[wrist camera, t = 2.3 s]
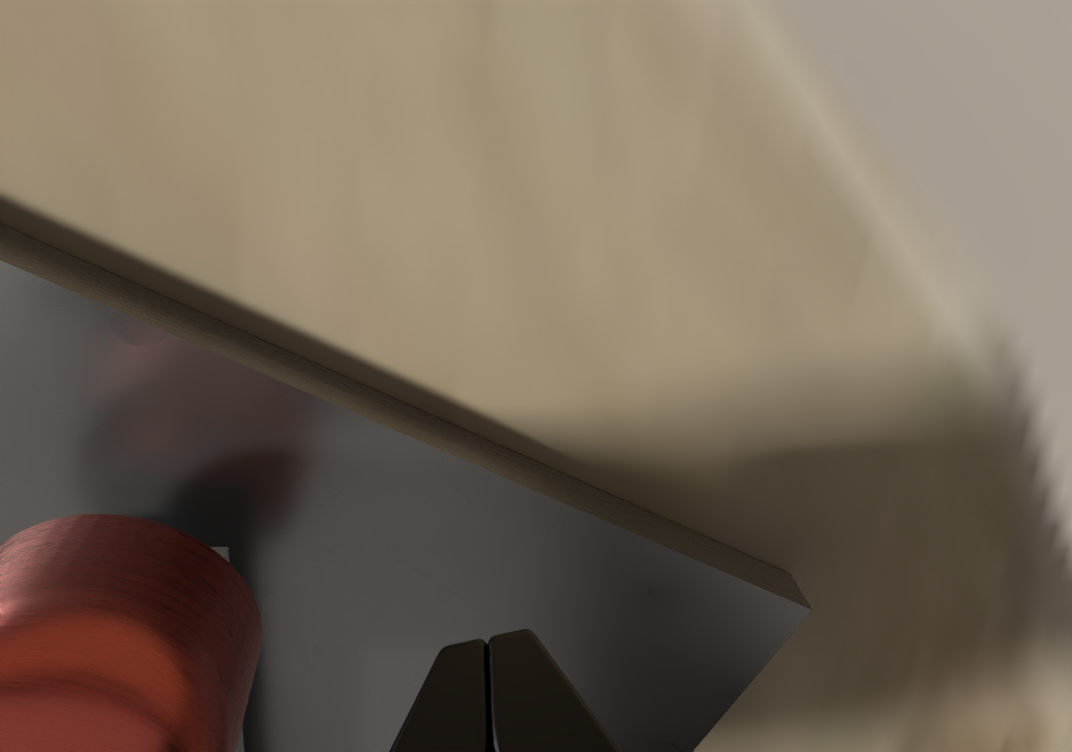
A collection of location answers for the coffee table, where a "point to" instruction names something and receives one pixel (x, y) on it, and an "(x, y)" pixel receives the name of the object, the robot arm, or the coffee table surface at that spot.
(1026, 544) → the coffee table surface
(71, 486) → the bedplate
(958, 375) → the coffee table surface
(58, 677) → the crank
